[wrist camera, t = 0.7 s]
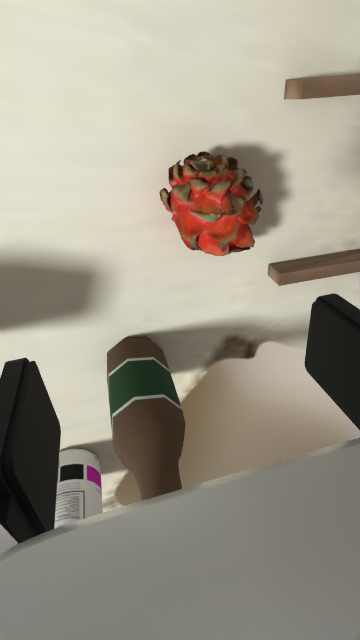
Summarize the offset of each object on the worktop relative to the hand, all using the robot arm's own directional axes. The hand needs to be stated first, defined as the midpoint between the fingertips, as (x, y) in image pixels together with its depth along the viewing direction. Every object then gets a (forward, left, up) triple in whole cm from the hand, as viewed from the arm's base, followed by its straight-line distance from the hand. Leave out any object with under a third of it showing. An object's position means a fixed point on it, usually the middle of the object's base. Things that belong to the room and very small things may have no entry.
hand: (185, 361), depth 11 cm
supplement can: (+39, -13, -27) cm, 49 cm away
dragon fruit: (+2, +9, -27) cm, 29 cm away
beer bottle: (+21, -1, -27) cm, 34 cm away
